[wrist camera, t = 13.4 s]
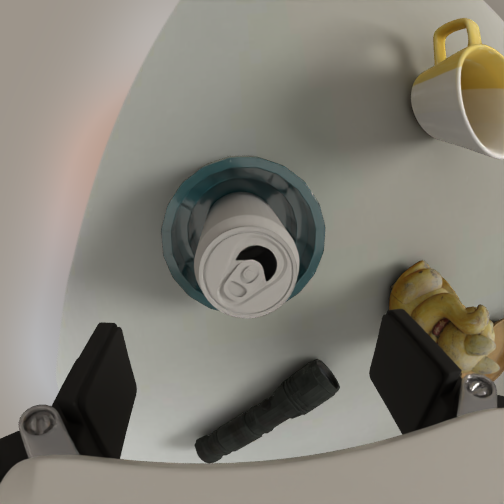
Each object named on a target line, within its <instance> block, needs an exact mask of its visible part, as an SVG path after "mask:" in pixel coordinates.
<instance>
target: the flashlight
mask: <svg viewBox="0 0 504 504" xmlns="http://www.w3.org/2000/svg"><path fill="white" fill-rule="evenodd" d="M339 388H340V386H339V383H338V381H337V379H336V378H335V376H334V375H333V373H332V372H331V371H330V370H329V368H328V367H327V366H326V365H325V364H324V363H323V362H322V361H320V360H318V359H316V360H315V361H313V362H311V363H309V364H307V365H306V366H305V367H303V368H302V369H301V370H299V371H298V372H297V373H295V374H294V375H292V377H290V378H288V379H287V380H285V382H283V383H282V384H281V386H280V387H279V388H278V389H277V390H276V391H275V392H274V394H273V396H272V397H270V398H269V399H266V400H264V401H263V402H262V403H261V404H260V405H258V406H254V407H252V408H251V409H250V410H249V412H245V413H243V414H241V415H239V416H238V417H236V418H235V419H233V420H231V421H230V422H228V423H226V424H225V425H223V426H221V427H220V428H219V429H218V430H216V431H214V432H213V433H212V434H211V435H209V436H207V435H206V436H203V437H201V438H199V439H197V440H196V443H195V448H196V451H197V454H198V456H199V457H200V458H201V460H203V461H204V462H206V463H214V462H216V461H218V460H220V459H221V458H222V456H223V455H228V454H230V453H231V452H232V451H237V450H238V449H240V448H242V447H244V446H246V445H247V444H249V443H251V442H253V441H255V440H256V439H258V438H260V437H262V435H263V434H264V433H268V432H270V431H272V430H273V428H274V427H276V426H277V425H279V424H281V423H282V422H284V421H286V420H287V419H289V418H292V419H293V418H295V417H298V416H300V415H305V414H307V413H308V412H310V411H311V410H313V409H314V408H316V407H317V406H319V405H320V404H322V403H323V402H325V401H326V400H328V399H329V398H331V397H332V396H334V395H335V393H336V392H337V391H338V390H339Z"/></svg>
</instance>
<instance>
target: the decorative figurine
mask: <svg viewBox="0 0 504 504" xmlns="http://www.w3.org/2000/svg"><path fill="white" fill-rule="evenodd" d="M391 289H392V291H391V294H390V299H389V310H394V309H404V310H405V311H406V312H407V313H408V314H409V315H410V316H411V317H412V318H413V319H414V320H415V321H416V322H417V323H418V324H419V325H420V326H421V327H422V328H423V329H424V330H425V332H426V333H427V334H428V335H429V336H430V337H431V338H432V339H433V340H434V341H435V342H436V343H437V344H438V345H439V346H440V347H441V348H442V349H443V351H444V352H445V353H446V354H447V355H448V356H449V357H450V358H451V359H452V360H453V361H454V362H455V364H456V365H457V366H458V367H459V368H460V369H461V370H462V371H461V373H466V372H469V371H472V372H474V373H476V374H482V375H485V374H491V373H495V372H497V371H498V370H499V369H500V367H499V365H498V364H497V363H496V362H495V361H493V360H492V359H490V358H488V355H489V354H490V353H491V352H492V351H494V350H495V348H496V344H495V342H494V340H495V333H494V330H493V322H492V321H490V320H489V312H488V310H487V309H486V307H484V306H483V305H478V307H467V308H466V307H465V306H464V305H462V303H461V302H460V300H459V298H458V296H457V295H456V293H455V291H454V290H453V289H452V288H451V286H450V285H449V284H448V282H447V281H446V280H445V279H444V278H442V277H441V275H440V274H439V273H438V272H437V271H436V270H434V269H431V268H430V266H429V265H428V264H427V263H426V262H425V261H423V260H422V261H419V262H417V263H416V264H414V265H413V266H411V267H410V268H409V269H407V270H406V271H405V272H404V273H403V274H402V275H401V276H400V277H399V278H398V280H397V281H396V283H395V284H394V285H392V286H391Z"/></svg>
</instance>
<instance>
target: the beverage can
mask: <svg viewBox="0 0 504 504" xmlns="http://www.w3.org/2000/svg"><path fill="white" fill-rule="evenodd" d="M194 271H195V276H196V280H197V283H198V285H199V287H200V289H201V290H202V292H203V293H204V295H205V297H206V298H207V300H208V301H209V302H210V303H211V304H212V305H213V306H214V307H215V308H217V309H218V310H219V311H221V312H223V313H225V314H227V315H230V316H233V317H238V318H256V317H260V316H264V315H267V314H269V313H271V312H273V311H275V310H276V309H278V308H279V307H280V306H281V305H283V304H284V303H285V302H286V300H287V299H288V298H289V297H290V295H291V293H292V292H293V290H294V287H295V284H296V281H297V276H298V272H299V254H298V251H297V248H296V245H295V243H294V241H293V239H292V237H291V236H290V234H289V233H288V232H287V230H286V229H285V227H284V226H283V224H282V223H281V221H280V220H279V219H278V217H277V216H276V214H275V213H274V211H273V210H272V209H271V207H270V206H269V205H268V203H267V202H266V201H265V200H263V199H262V198H260V197H259V196H257V195H255V194H252V193H248V192H235V193H231V194H228V195H225V196H223V197H222V198H220V199H219V200H218V201H216V202H215V203H214V205H213V206H212V207H211V209H210V210H209V212H208V214H207V217H206V221H205V224H204V227H203V230H202V234H201V237H200V240H199V243H198V247H197V250H196V254H195V259H194Z"/></svg>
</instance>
